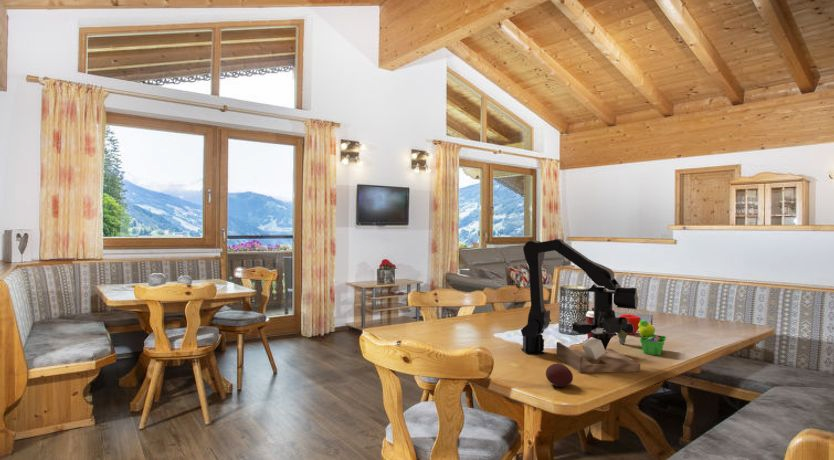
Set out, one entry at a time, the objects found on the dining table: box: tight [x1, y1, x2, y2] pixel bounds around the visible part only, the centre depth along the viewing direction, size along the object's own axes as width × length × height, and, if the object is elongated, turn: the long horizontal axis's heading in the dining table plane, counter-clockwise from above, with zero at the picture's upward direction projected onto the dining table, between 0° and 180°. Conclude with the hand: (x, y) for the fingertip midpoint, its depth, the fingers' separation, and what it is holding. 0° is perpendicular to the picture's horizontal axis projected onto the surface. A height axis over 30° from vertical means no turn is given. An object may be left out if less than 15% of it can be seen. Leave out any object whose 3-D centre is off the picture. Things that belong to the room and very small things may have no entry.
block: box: [581, 337, 606, 359], centre depth 158 cm, size 4×4×4 cm
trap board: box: [555, 341, 641, 374], centre depth 159 cm, size 20×18×5 cm
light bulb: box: [616, 320, 629, 345], centre depth 186 cm, size 6×6×10 cm
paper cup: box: [585, 310, 594, 340], centre depth 176 cm, size 8×8×14 cm
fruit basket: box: [638, 319, 667, 356], centre depth 176 cm, size 11×9×11 cm
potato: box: [545, 362, 574, 388], centre depth 138 cm, size 8×9×6 cm
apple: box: [619, 313, 642, 335], centre depth 205 cm, size 9×9×8 cm
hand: (602, 353), depth 160 cm, fingers closed
